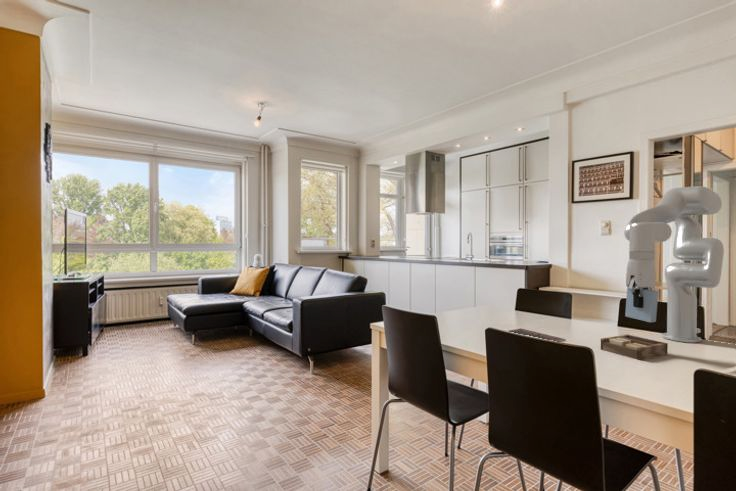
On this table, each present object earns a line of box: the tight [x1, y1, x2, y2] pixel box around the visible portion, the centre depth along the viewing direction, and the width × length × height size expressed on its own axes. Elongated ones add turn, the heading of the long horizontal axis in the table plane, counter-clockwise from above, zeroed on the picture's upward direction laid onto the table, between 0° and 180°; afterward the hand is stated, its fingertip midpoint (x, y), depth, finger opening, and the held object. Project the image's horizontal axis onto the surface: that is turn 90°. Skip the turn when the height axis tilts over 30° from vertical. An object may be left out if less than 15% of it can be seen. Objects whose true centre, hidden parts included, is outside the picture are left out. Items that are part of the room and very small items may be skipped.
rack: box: [600, 334, 668, 361], centre depth 141 cm, size 15×14×5 cm
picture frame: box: [508, 327, 566, 343], centre depth 162 cm, size 16×2×22 cm
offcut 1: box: [609, 338, 631, 347], centre depth 142 cm, size 5×5×4 cm
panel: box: [624, 286, 659, 323], centre depth 142 cm, size 3×9×11 cm, turn 23°
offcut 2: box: [626, 343, 646, 350], centre depth 137 cm, size 5×5×4 cm
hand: (641, 306), depth 142 cm, fingers closed on panel, 2 cm apart
